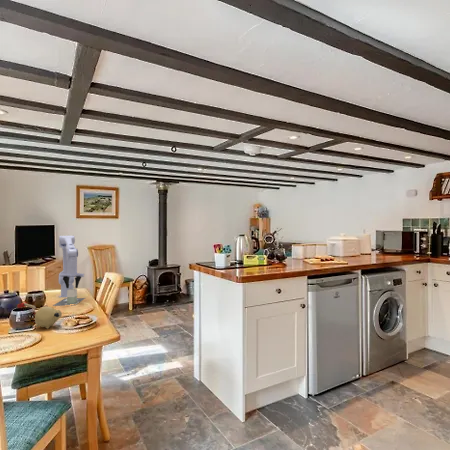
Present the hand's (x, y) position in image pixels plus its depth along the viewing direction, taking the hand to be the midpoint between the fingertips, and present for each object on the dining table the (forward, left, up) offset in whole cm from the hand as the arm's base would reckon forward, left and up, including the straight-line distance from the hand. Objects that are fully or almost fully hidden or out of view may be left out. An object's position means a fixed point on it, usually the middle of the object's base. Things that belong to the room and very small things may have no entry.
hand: (72, 287), depth 206 cm
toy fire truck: (+36, -8, -11) cm, 38 cm away
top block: (0, 0, -6) cm, 6 cm away
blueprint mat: (-4, -3, -10) cm, 12 cm away
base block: (0, 0, -10) cm, 10 cm away
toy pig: (+48, +6, -11) cm, 50 cm away
